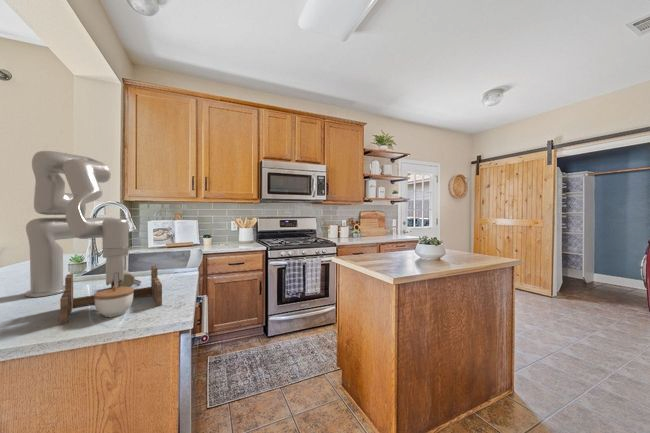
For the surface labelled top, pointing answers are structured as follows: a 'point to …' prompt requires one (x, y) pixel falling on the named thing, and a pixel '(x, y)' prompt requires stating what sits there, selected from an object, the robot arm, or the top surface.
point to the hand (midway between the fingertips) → (116, 301)
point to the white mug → (129, 280)
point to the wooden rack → (69, 302)
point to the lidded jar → (113, 300)
